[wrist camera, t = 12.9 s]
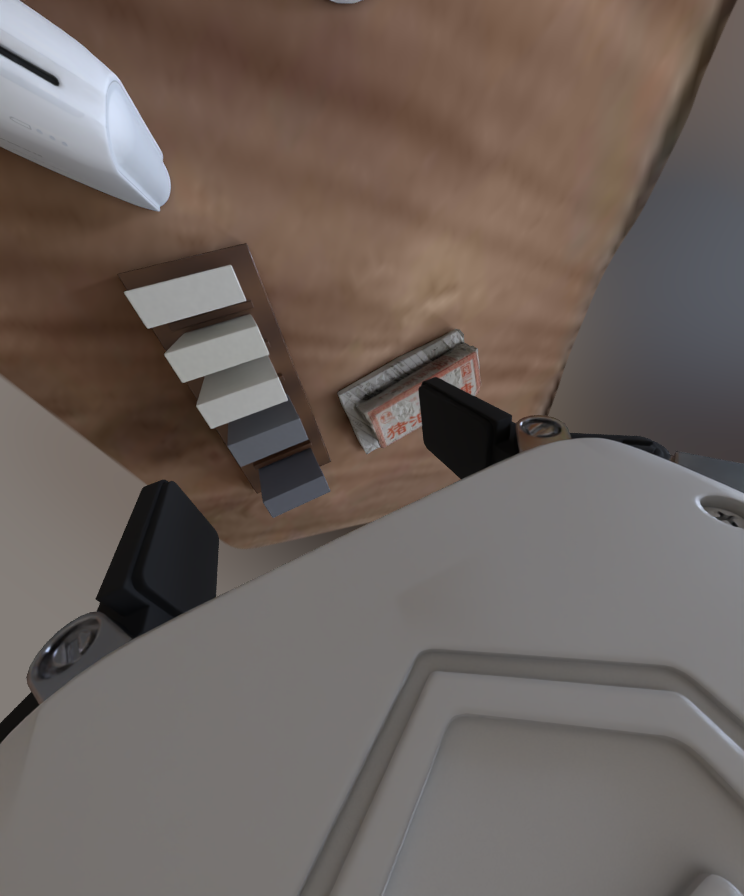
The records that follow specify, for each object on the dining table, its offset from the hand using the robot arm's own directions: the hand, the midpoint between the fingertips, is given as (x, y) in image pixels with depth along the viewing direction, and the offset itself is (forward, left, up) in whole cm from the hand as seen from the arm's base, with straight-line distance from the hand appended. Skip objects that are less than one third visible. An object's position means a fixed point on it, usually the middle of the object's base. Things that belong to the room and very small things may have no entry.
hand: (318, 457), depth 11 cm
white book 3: (+1, -3, -22) cm, 22 cm away
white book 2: (-2, -3, -22) cm, 22 cm away
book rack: (+4, -3, -23) cm, 23 cm away
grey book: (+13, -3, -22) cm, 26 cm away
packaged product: (+11, +15, -23) cm, 29 cm away
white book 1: (-6, -3, -22) cm, 23 cm away
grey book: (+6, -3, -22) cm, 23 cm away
